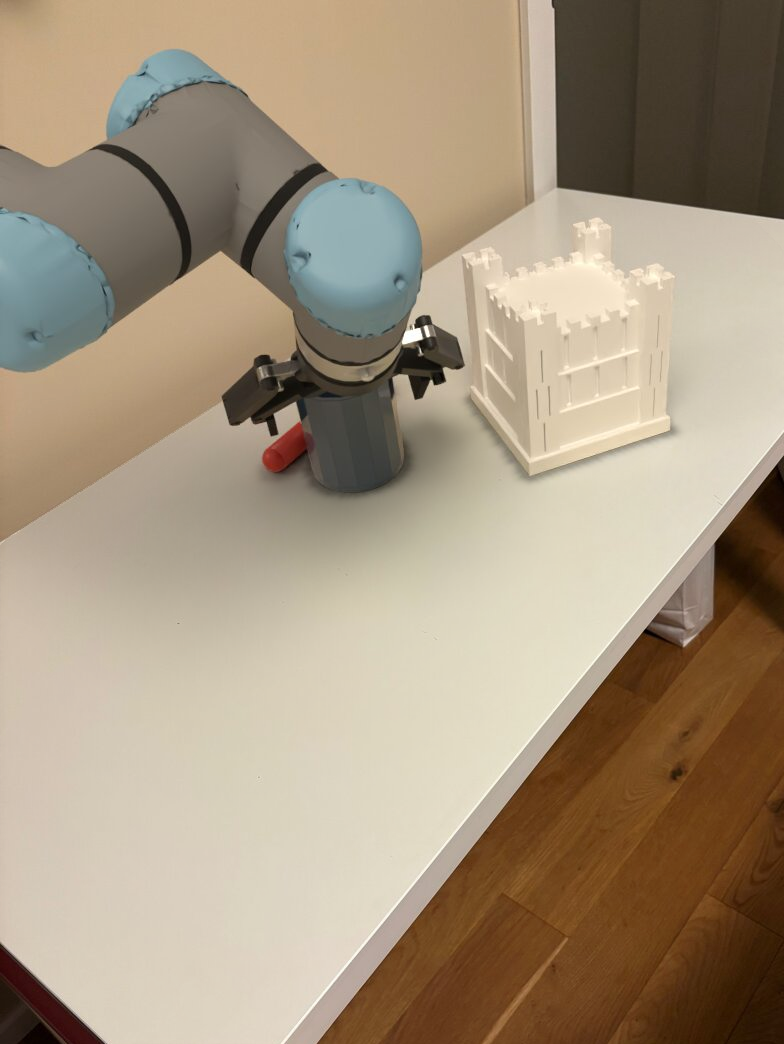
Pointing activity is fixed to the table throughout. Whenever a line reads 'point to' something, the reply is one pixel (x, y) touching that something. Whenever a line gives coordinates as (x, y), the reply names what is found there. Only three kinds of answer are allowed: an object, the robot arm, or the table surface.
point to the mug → (353, 438)
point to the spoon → (285, 449)
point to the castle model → (569, 351)
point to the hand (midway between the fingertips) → (343, 403)
